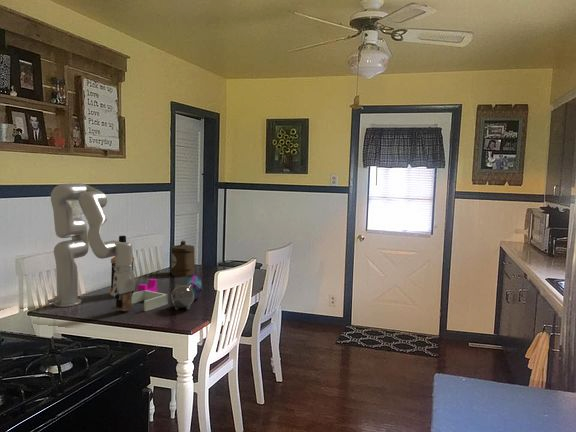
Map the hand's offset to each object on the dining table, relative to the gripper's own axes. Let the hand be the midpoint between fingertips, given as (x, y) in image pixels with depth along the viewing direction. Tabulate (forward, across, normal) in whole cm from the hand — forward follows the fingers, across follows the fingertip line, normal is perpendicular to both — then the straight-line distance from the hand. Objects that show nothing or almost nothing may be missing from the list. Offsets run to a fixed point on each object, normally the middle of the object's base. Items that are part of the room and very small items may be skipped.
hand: (123, 305), depth 231 cm
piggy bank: (+3, +20, -19) cm, 28 cm away
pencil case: (+3, +41, -8) cm, 42 cm away
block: (+1, 0, 0) cm, 1 cm away
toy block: (+3, +27, +10) cm, 29 cm away
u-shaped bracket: (+3, +14, 0) cm, 14 cm away
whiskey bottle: (+3, +22, +25) cm, 33 cm away
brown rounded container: (+3, +80, +33) cm, 87 cm away
